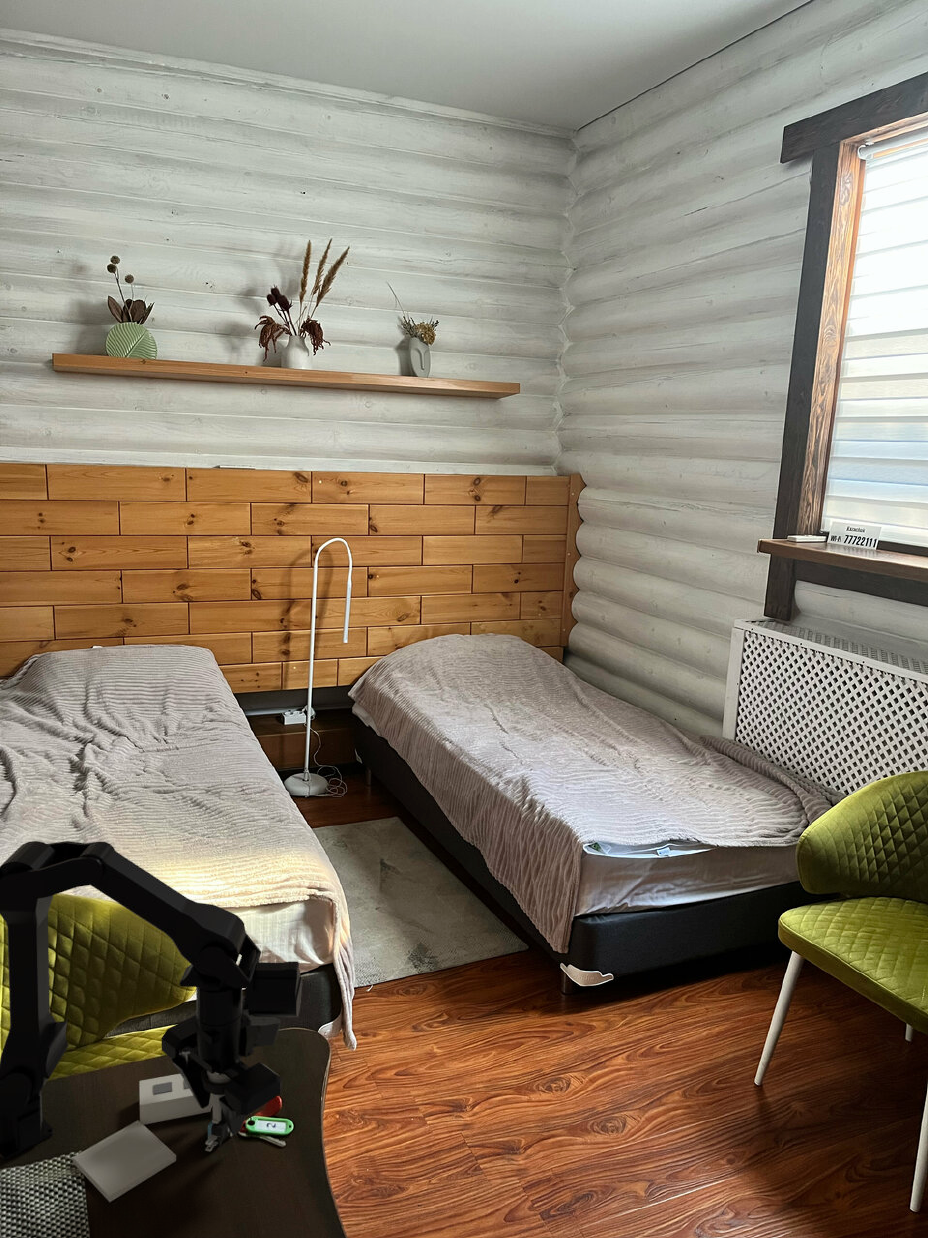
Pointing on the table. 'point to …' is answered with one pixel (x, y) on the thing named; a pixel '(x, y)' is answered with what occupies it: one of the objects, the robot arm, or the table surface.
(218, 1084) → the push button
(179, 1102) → the power strip
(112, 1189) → the rubber mat
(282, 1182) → the table surface
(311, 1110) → the table surface
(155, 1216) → the table surface
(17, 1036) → the robot arm
